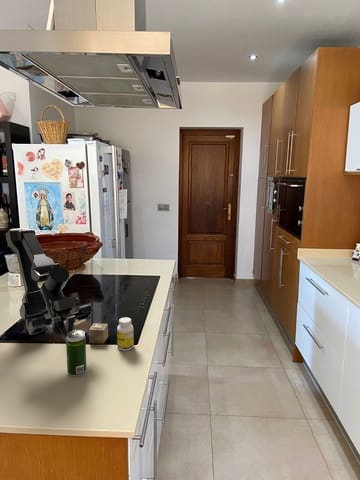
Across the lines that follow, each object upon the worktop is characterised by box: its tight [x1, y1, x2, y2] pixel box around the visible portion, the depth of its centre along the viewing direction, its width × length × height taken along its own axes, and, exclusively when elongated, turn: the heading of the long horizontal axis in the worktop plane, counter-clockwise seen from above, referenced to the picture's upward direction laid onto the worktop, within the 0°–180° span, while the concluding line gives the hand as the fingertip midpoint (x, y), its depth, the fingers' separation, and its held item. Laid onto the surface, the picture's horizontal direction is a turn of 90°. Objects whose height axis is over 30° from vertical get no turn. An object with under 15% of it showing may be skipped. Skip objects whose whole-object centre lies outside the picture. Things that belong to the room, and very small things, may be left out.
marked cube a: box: [88, 322, 109, 345], centre depth 117 cm, size 5×5×5 cm
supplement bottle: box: [116, 316, 135, 351], centre depth 112 cm, size 5×5×10 cm
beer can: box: [65, 330, 88, 378], centre depth 98 cm, size 5×5×12 cm
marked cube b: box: [73, 319, 88, 334], centre depth 122 cm, size 5×5×5 cm
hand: (71, 344), depth 100 cm, fingers closed
